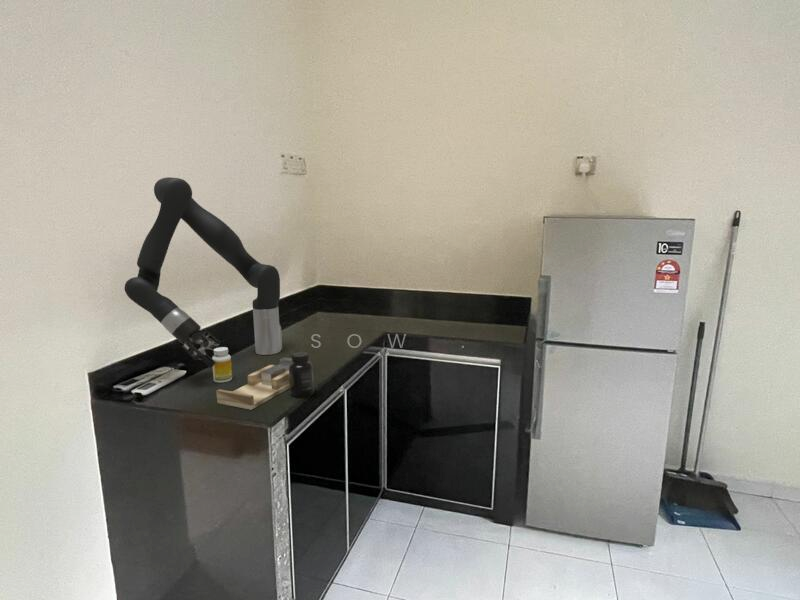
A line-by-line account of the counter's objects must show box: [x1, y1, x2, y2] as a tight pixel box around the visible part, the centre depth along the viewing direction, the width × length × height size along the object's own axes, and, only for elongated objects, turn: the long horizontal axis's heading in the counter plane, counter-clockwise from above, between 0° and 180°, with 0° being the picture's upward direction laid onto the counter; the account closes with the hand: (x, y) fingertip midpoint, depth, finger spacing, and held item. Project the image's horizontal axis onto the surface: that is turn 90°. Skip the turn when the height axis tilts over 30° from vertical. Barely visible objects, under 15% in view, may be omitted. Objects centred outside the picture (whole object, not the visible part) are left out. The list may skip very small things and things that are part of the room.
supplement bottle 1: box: [211, 346, 233, 384], centre depth 151 cm, size 6×6×10 cm
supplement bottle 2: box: [289, 351, 315, 399], centre depth 140 cm, size 7×7×12 cm
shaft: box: [261, 357, 293, 386], centre depth 149 cm, size 12×5×5 cm, turn 157°
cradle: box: [215, 364, 290, 411], centre depth 142 cm, size 23×12×4 cm, turn 157°
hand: (219, 361), depth 151 cm, fingers open, 8 cm apart
